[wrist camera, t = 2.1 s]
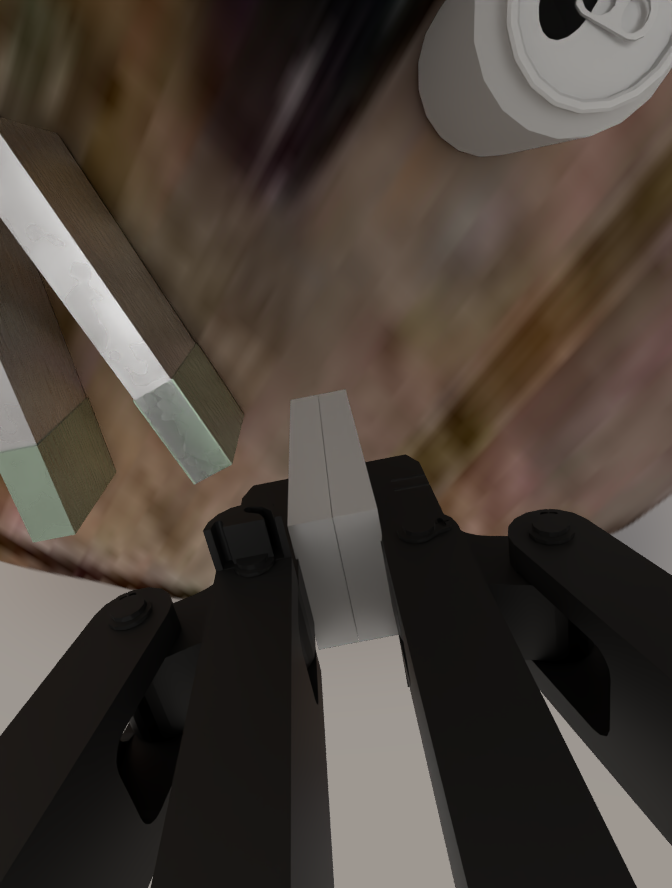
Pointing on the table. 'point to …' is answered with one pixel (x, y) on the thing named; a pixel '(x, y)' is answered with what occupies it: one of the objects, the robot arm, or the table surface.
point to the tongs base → (43, 408)
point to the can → (540, 69)
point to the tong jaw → (115, 299)
